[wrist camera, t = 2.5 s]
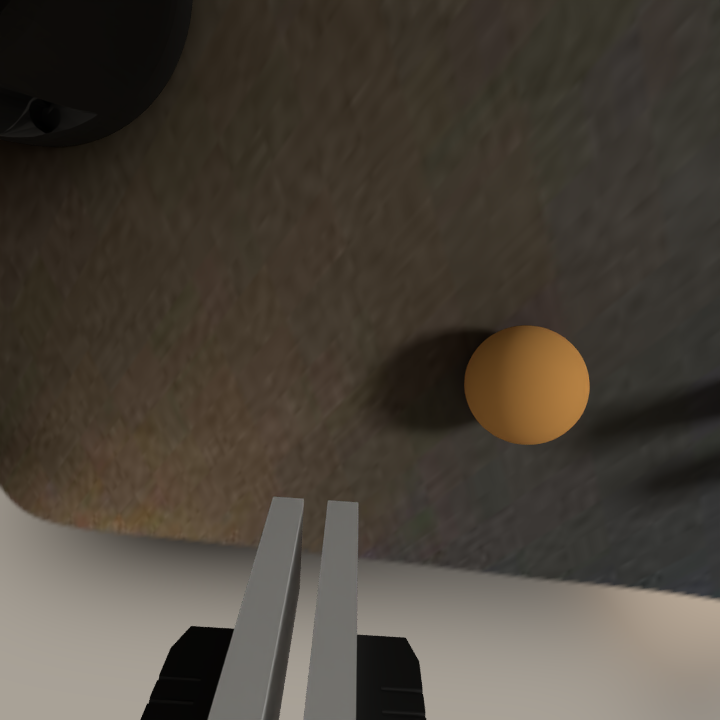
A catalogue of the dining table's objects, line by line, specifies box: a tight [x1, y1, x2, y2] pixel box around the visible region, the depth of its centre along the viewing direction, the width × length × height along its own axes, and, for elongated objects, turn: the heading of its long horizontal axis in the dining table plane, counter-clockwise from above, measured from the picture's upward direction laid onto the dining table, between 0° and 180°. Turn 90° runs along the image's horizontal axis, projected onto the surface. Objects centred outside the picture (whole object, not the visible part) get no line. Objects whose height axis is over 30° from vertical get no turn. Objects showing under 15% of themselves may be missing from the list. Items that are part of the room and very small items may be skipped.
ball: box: [464, 325, 590, 445], centre depth 26 cm, size 6×6×6 cm
